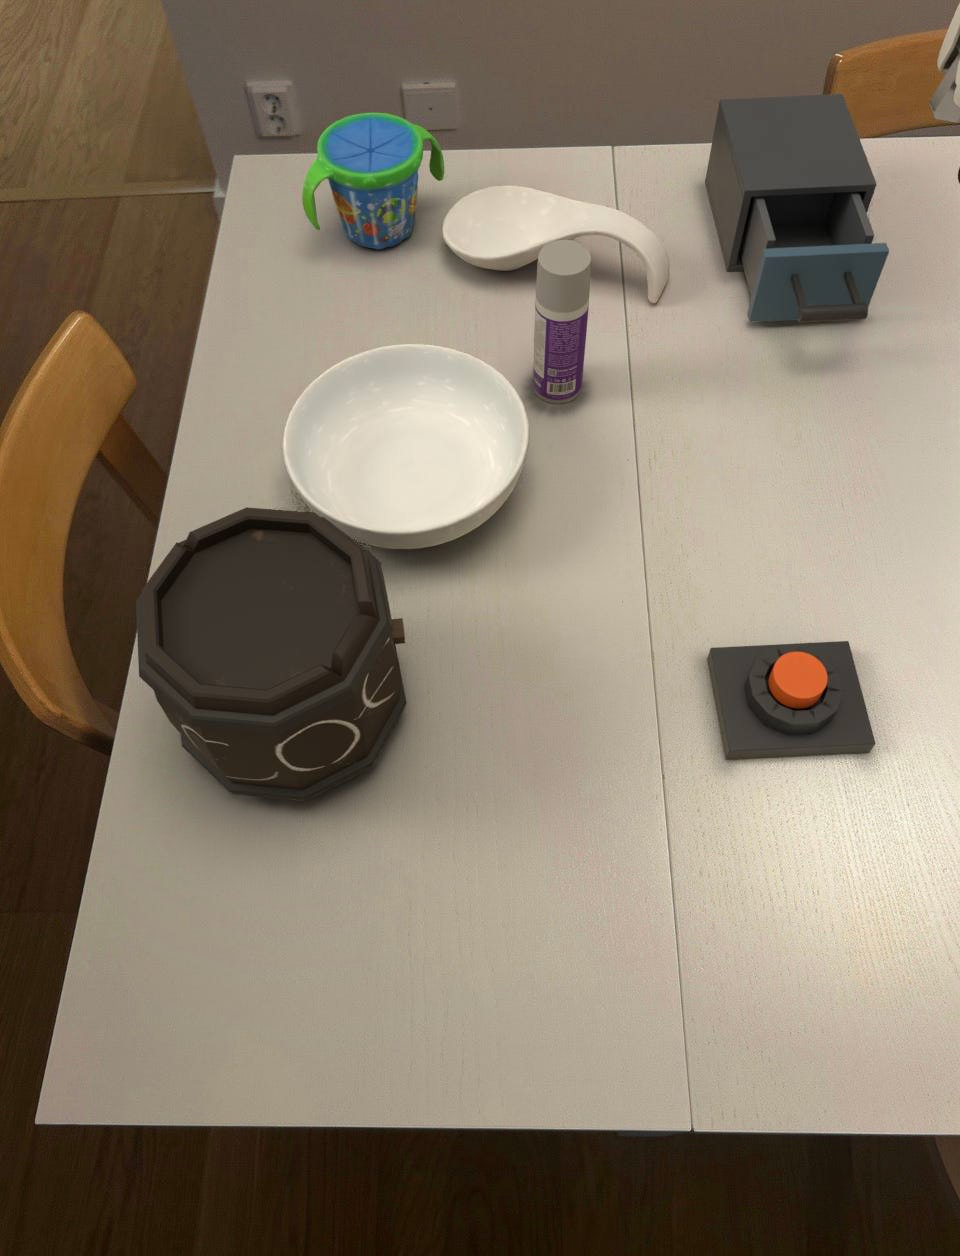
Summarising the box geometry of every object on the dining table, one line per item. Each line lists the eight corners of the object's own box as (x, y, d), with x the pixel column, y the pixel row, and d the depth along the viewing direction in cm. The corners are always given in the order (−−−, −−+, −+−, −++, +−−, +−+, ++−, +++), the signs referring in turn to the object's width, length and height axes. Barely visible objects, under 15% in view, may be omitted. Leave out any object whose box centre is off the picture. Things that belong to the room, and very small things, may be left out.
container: (590, 379, 102) (602, 249, 89) (567, 410, 100) (576, 283, 87) (547, 361, 103) (553, 231, 90) (523, 392, 101) (526, 264, 88)
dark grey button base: (843, 651, 85) (855, 628, 82) (869, 753, 81) (883, 733, 78) (706, 658, 85) (714, 635, 82) (725, 760, 81) (733, 741, 78)
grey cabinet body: (849, 265, 109) (877, 184, 101) (727, 271, 109) (744, 190, 101) (819, 176, 117) (842, 93, 108) (704, 181, 117) (719, 99, 108)
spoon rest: (426, 274, 110) (422, 214, 104) (468, 205, 115) (466, 145, 109) (647, 329, 105) (656, 271, 99) (680, 254, 111) (690, 194, 104)
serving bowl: (261, 447, 98) (245, 394, 92) (463, 368, 103) (460, 313, 97) (352, 616, 88) (341, 569, 82) (570, 520, 93) (575, 469, 87)
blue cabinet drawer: (879, 358, 101) (905, 293, 94) (759, 364, 101) (777, 300, 94) (834, 226, 111) (855, 159, 104) (726, 231, 111) (740, 164, 104)
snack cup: (425, 179, 118) (419, 92, 109) (466, 235, 113) (463, 148, 104) (294, 222, 114) (276, 136, 106) (330, 281, 109) (315, 196, 101)
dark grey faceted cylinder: (433, 787, 80) (419, 689, 67) (195, 835, 79) (130, 744, 65) (395, 592, 89) (376, 472, 76) (181, 631, 88) (122, 515, 74)
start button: (815, 661, 82) (821, 649, 80) (827, 707, 79) (833, 696, 78) (763, 663, 81) (768, 652, 80) (773, 710, 79) (778, 699, 78)
